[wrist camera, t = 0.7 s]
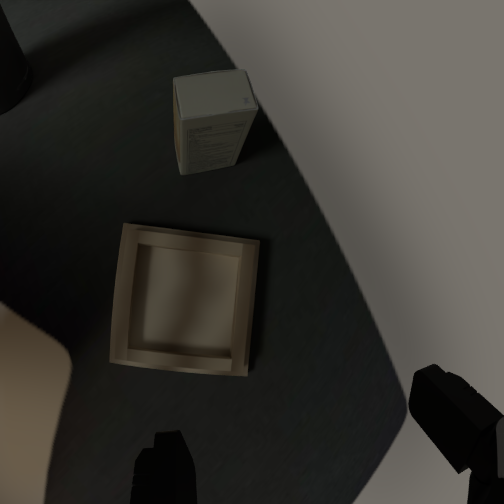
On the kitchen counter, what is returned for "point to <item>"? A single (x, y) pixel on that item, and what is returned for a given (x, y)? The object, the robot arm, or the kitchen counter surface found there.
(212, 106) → the skincare box
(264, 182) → the kitchen counter surface
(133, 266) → the tray
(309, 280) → the kitchen counter surface
